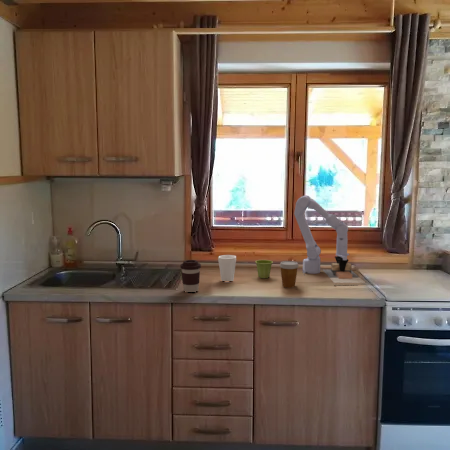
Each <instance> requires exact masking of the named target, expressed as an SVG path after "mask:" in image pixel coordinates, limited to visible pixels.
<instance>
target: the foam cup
mask: <svg viewBox="0 0 450 450" xmlns="http://www.w3.org/2000/svg"><path fill="white" fill-rule="evenodd" d="M217 261H218V266H219V274H220V275H219V276H220V281H221V280H222V281H233V282H234V278H235V270H236V263H237V255H234V254H223V255H222V254H221V255H219V256H218V257H217ZM222 281H221V282H222Z"/></svg>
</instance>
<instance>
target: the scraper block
mask: <svg viewBox="0 0 450 450" xmlns="http://www.w3.org/2000/svg"><path fill="white" fill-rule="evenodd" d="M330 265H331V266H330V267H331V269H330V270H331V272H332V273H336V272H340V267H339V263H337V262H335V263H334V262H331V264H330ZM352 265H353V264H351V263H349V262H347V264H346V267H345V271H349V272H350V273H351V270H352V267H353V266H352ZM345 271H344V272H345Z"/></svg>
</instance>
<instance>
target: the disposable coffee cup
mask: <svg viewBox="0 0 450 450" xmlns="http://www.w3.org/2000/svg"><path fill="white" fill-rule="evenodd" d="M279 267H280V276H281V285H282V287H283V286H284V288H287V287H288V288H291V287H292V288H295V287H296V280H297V274H298V268H299V263H298V262H297V261H293V260H292V261H291V260H284V261H280V264H279ZM292 288H291V289H292Z"/></svg>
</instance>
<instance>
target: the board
mask: <svg viewBox="0 0 450 450" xmlns="http://www.w3.org/2000/svg"><path fill="white" fill-rule="evenodd" d="M322 271H323V272H324V273H325V275H327V276H328V278H329V279H330V280H331V281H332V283H334V284H333V286H334V287H335V286H347V287H348V286H349V287H350V286H357V283H359V284H365V283H366V281H365V280H363V278H361V277H360V276H359V275H358V274H356V273H355V272H354V271H353V270H352V269H351V274H352V278H338V277H337V276H336V273H332V272H331V269H322ZM351 283H353V284H351Z"/></svg>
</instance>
